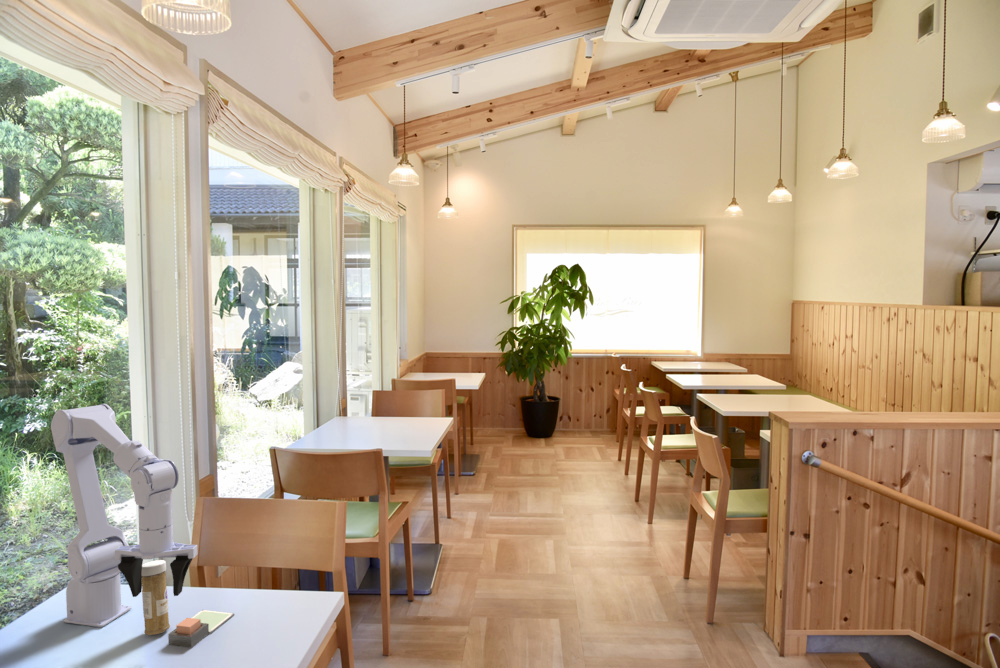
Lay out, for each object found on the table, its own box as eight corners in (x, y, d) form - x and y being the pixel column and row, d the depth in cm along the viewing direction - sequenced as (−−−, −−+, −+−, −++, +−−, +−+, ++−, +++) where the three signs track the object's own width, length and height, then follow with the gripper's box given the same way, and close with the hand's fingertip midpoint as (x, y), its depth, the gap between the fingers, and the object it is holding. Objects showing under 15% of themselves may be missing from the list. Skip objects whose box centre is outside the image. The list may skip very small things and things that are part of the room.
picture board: (177, 629, 126) (177, 627, 126) (202, 611, 134) (202, 609, 134) (210, 634, 125) (210, 632, 125) (234, 615, 132) (234, 613, 132)
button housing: (168, 645, 121) (168, 634, 121) (186, 631, 126) (186, 620, 125) (191, 648, 120) (191, 637, 120) (208, 634, 125) (208, 623, 124)
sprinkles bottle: (171, 631, 125) (166, 562, 125) (144, 638, 122) (140, 568, 123) (168, 624, 128) (164, 557, 129) (143, 630, 126) (139, 563, 126)
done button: (176, 635, 121) (176, 625, 121) (187, 627, 124) (187, 617, 124) (190, 637, 121) (190, 627, 121) (200, 629, 124) (200, 619, 124)
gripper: (105, 533, 116) (107, 605, 117) (186, 532, 117) (187, 603, 118) (125, 520, 123) (126, 587, 124) (201, 518, 124) (202, 585, 125)
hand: (157, 593), depth 121 cm, fingers open, 7 cm apart
